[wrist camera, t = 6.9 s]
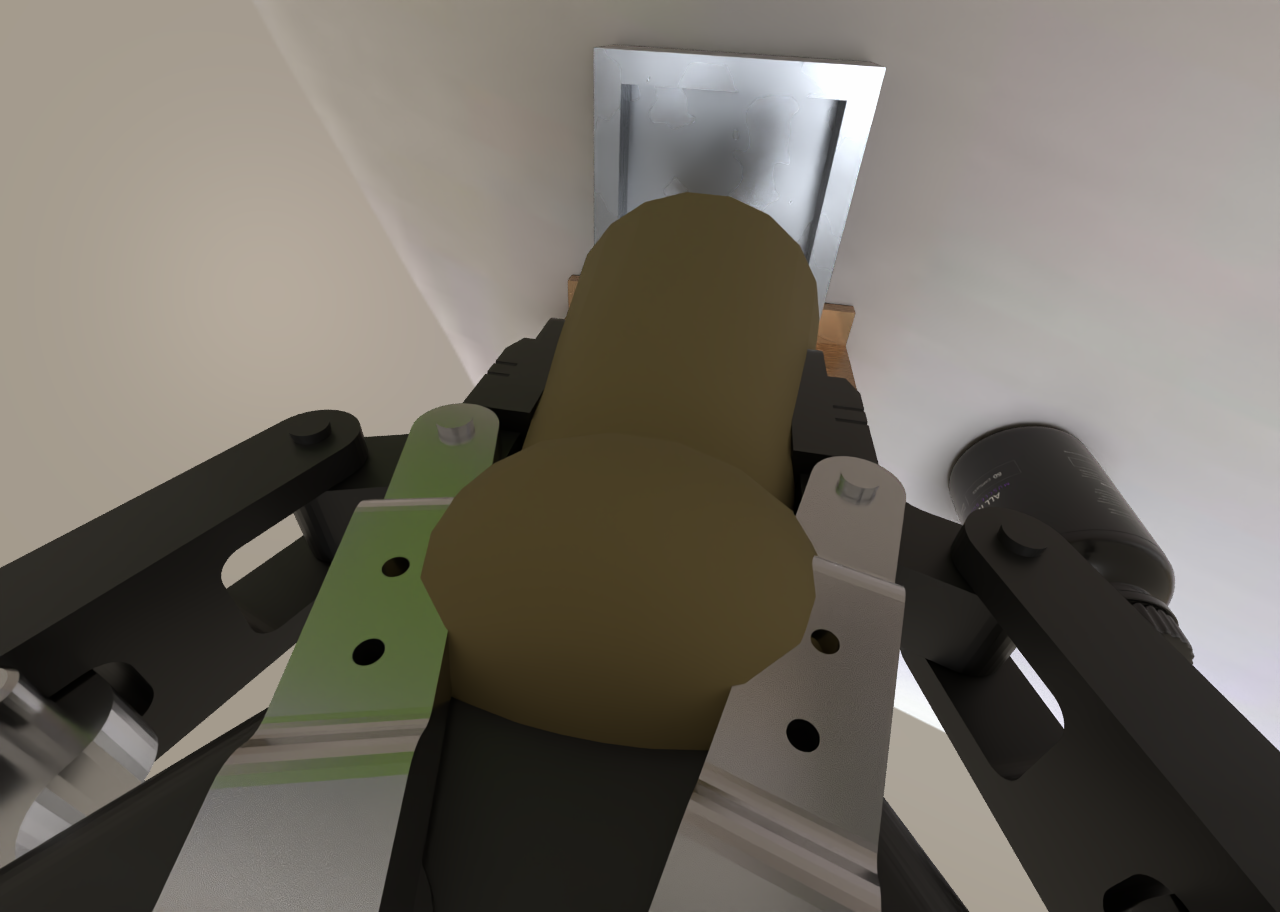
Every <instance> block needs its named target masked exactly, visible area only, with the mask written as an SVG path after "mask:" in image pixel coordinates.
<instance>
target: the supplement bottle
mask: <svg viewBox="0 0 1280 912" xmlns="http://www.w3.org/2000/svg"><path fill="white" fill-rule="evenodd" d="M949 489H950V494H951V498H952V501H953V503H954V506H955V509H956V512H957V514H958V517H959V520H960V522H961V525H963V523H964V522H965V520H966V518H967V517H968V515H969V514H970V513H972V512H973V511H975V510H977V509H980V508H986V507H1000V508H1007V509H1011V510H1015V511H1018V512H1022V513H1024V514H1027V515H1029V516H1032V517H1034V518H1036V519H1038V520H1040V521H1042V522H1043V523H1045V524H1047V525H1048V526H1050V527H1051V528H1053V529H1054V530H1055V531H1057V532H1058V533H1059V534H1060V535H1061V536H1062V537H1064V538H1065V539H1066V540H1067V541H1068V542H1069V543H1070V544H1071V545H1072V546H1073V547H1074V548H1075V549H1076V550H1077V551H1078V552H1079V553H1080V554H1081V555H1082V556H1083V557H1084V558H1085V559H1086V560H1087V561H1088V562H1089V563H1090V564H1091V565H1092V566H1093V567H1094V568H1095V569H1096V570H1097V571H1098V572H1099V573H1100V574H1101V575H1102V576H1103V577H1104V578H1105V579H1106V580H1107V581H1108V582H1109V583H1110V584H1111V585H1112V586H1113V587H1114V588H1115V589H1116V590H1117V591H1118V592H1119V593H1120V594H1121V595H1122V596H1123V597H1124V598H1125V599H1126V600H1127V601H1128V602H1129V603H1130V604H1131V605H1132V606H1133V607H1134V608H1135V609H1136V610H1137V611H1138V612H1139V613H1140V614H1141V615H1142V616H1143V617H1144V618H1145V619H1146V620H1147V621H1148V622H1149V623H1150V624H1151V625H1152V626H1153V627H1154V628H1155V629H1156V630H1157V631H1158V632H1159V633H1160V634H1161V635H1163V636H1164V637H1165V638H1166V639H1167V640H1168V641H1169V642H1170V643H1171V644H1172V645H1173V646H1174V647H1175V648H1176V649H1177V650H1178V651H1179V652H1180V653H1181V654H1182V655H1183V656H1184V657H1185V658H1186V659H1187V660H1188V661H1189V662H1190V663H1191V664H1193V661H1192V659H1193V658H1194V654H1193V652H1192V647H1191V645H1190V643H1189V641H1188V640H1187V638H1186V637H1185V635H1184V634H1183V632H1182V631H1181V629H1180V628H1179V624H1178V621H1177V619H1176V617H1175V615H1174V614H1173V613H1172V611H1171V610H1170V609H1169V607H1168V605H1169V603H1170V601H1171V599H1172V596H1173V593H1174V588H1175V576H1174V571H1173V568H1172V566H1171V564H1170V562H1169V561H1168V559H1167V557H1166V556H1165V554H1164V552H1163V551H1162V550H1161V548H1160V547H1159V545H1158V544H1157V543H1156V541H1155V540H1154V539H1153V537H1152V536H1151V534H1150V533H1149V532H1148V530H1147V529H1146V528H1145V526H1144V525H1143V524H1142V522H1141V521H1140V519H1139V518H1138V517H1137V515H1136V514H1135V513H1134V511H1133V510H1132V508H1131V507H1130V506H1129V504H1128V503H1127V502H1126V500H1125V499H1124V498H1123V496H1122V495H1121V493H1120V492H1119V491H1118V489H1117V488H1116V487H1115V485H1114V484H1113V482H1112V481H1111V480H1110V478H1109V477H1108V476H1107V474H1106V473H1105V471H1104V470H1103V469H1102V467H1101V466H1100V465H1099V463H1098V462H1097V461H1096V459H1095V458H1094V457H1093V455H1092V454H1091V453H1090V452H1089V450H1088V449H1087V448H1086V447H1085V445H1084V444H1083V443H1082V442H1080V441H1079V440H1078V439H1077V438H1075V437H1074V436H1072V435H1070V434H1068V433H1066V432H1064V431H1061V430H1058V429H1054V428H1049V427H1041V426H1025V427H1017V428H1011V429H1007V430H1003V431H1000V432H997V433H995V434H992V435H990V436H988V437H986V438H984V439H982V440H980V441H978V442H977V443H975V444H974V445H973V446H971V447H970V448H969V449H968V450H967V451H966V452H964V454H963V455H962V456H961V457H960V458H959V459H958V461H957V462H956V464H955V466H954V468H953V470H952V472H951V475H950V480H949Z"/></svg>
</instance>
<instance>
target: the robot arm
mask: <svg viewBox="0 0 1280 912" xmlns="http://www.w3.org/2000/svg"><path fill="white" fill-rule="evenodd" d="M564 322H565V319H557V318H551V319H550V320H549V321H548V322H547V324H546V325H545V326H544V328H543V329H542V331H541V332H540V333H539V335H538V336H537V337H536V339H530V338H523V339H521V340H520V341H518V342H516V343H514V344H512V345H510V346H509V347H507V348H506V349H505V350H504V351H503V352H502V354H501V355H500V356H499V357H498V359H497V360H496V364H495V363H494V364H493V365H492V366H491V368H490V369H489V370H488V373H487V374H485V375H484V376H483V378H482V379H481V380H480V381H479V383H478V384H477V385H476V387H475V388H474V389H473V390H472V392H471V393H470V394H469V396H468V397H467V398H466V399H465V400H464V402H463V403H460V404H450V405H445V406H441V407H438V408H435V409H432V410H430V411H428V412H426V413H425V414H423V415H422V416H420V417H419V418H418V419H417V420H416V421H415V422H414V424H413V426H412V428H411V430H410V433H409V434H404V435H390V436H374V437H364V435H363V432H362V429H361V426H360V423H359V421H358V419H357V418H356V417H354V416H353V415H351V414H349V413H346V412H343V411H339V410H318V411H311V412H306V413H303V414H298V415H296V416H293V417H290V418H288V419H286V420H284V421H282V422H280V423H278V424H276V425H274V426H272V427H270V428H268V429H267V430H264V431H263V432H261V433H259V434H257V435H255V436H253V437H251V438H249V439H247V440H245V441H243V442H241V443H239V444H238V445H236V446H234V447H232V448H230V449H228V450H226V451H224V452H222V453H220V454H218V455H217V456H214V457H213V458H211V459H209V460H207V461H205V462H203V463H201V464H199V465H197V466H195V467H194V468H191V469H190V470H188V471H186V472H184V473H182V474H180V475H178V476H176V477H174V478H172V479H171V480H168V481H166V482H165V483H163V484H161V485H159V486H157V487H155V488H153V489H151V490H149V491H147V492H145V493H143V494H142V495H140V496H138V497H136V498H134V499H132V500H130V501H128V502H126V503H124V504H122V505H120V506H118V507H117V508H115V509H113V510H111V511H109V512H107V513H105V514H103V515H101V516H99V517H97V518H95V519H93V520H92V521H90V522H88V523H86V524H84V525H82V526H80V527H78V528H76V529H75V530H72V531H71V532H69V533H67V534H65V535H63V536H61V537H59V538H57V539H55V540H53V541H51V542H49V543H47V544H45V545H44V546H42V547H40V548H38V549H36V550H34V551H32V552H30V553H28V554H26V555H24V556H22V557H21V558H19V559H17V560H15V561H13V562H11V563H9V564H7V565H5V566H3V567H1V568H0V912H969V911H968V909H967V908H966V907H965V905H964V904H963V903H962V901H961V900H960V899H959V897H958V896H957V895H956V893H955V892H954V891H953V889H952V888H951V887H950V885H949V884H948V883H947V881H946V880H945V879H944V877H943V876H942V875H941V873H940V872H939V870H938V869H937V868H936V866H935V865H934V864H933V863H932V861H931V860H930V858H929V857H928V856H927V855H926V853H925V852H924V850H923V849H922V848H921V847H920V845H919V844H918V843H917V841H916V840H915V838H914V837H913V836H912V834H911V833H910V832H909V830H908V829H907V828H906V826H905V825H904V824H903V822H902V821H901V820H900V818H899V817H898V816H897V815H896V813H895V812H894V810H893V809H892V808H891V806H890V805H889V804H888V802H887V801H886V800H885V798H884V797H883V796H884V786H885V778H886V769H887V760H888V751H889V742H890V733H891V723H892V715H893V706H894V697H895V688H896V679H897V670H898V661H899V652H900V650H901V654H902V656H903V658H904V660H905V662H906V664H907V666H908V668H909V669H910V671H911V673H912V674H913V676H914V678H915V680H916V681H917V683H918V685H919V687H920V688H921V690H922V692H923V694H924V695H925V697H926V699H927V701H928V702H929V704H930V706H931V708H932V709H933V711H934V713H935V715H936V716H937V718H938V720H939V722H940V723H941V725H942V727H943V728H944V730H945V732H946V734H947V735H948V737H949V739H950V740H951V742H952V744H953V746H954V748H955V749H956V751H957V753H958V755H959V756H960V758H961V760H962V762H963V763H964V765H965V767H966V769H967V770H968V772H969V773H970V776H971V777H972V779H973V781H974V782H975V784H976V786H977V788H978V789H979V791H980V793H981V795H982V796H983V798H984V800H985V802H986V803H987V805H988V807H989V809H990V810H991V812H992V814H993V816H994V817H995V819H996V821H997V822H998V824H999V826H1000V828H1001V829H1002V831H1003V833H1004V835H1005V836H1006V838H1007V840H1008V841H1009V843H1010V845H1011V847H1012V849H1013V850H1014V852H1015V854H1016V856H1017V857H1018V859H1019V861H1020V862H1021V864H1022V866H1023V868H1024V870H1025V871H1026V873H1027V875H1028V876H1029V878H1030V880H1031V882H1032V883H1033V885H1034V887H1035V889H1036V890H1037V892H1038V894H1039V895H1040V897H1041V899H1042V901H1043V902H1044V904H1045V906H1046V908H1047V909H1048V911H1049V912H1280V751H1279V750H1278V749H1276V748H1275V747H1274V746H1273V745H1272V744H1271V743H1270V742H1269V741H1268V740H1267V739H1266V738H1265V737H1264V736H1263V735H1262V734H1261V733H1260V732H1259V731H1258V730H1257V729H1256V728H1255V727H1254V726H1253V725H1252V724H1251V723H1250V722H1249V721H1248V720H1247V719H1246V718H1245V717H1244V716H1243V715H1242V714H1241V713H1240V712H1239V711H1238V710H1237V709H1236V708H1235V707H1234V706H1233V705H1232V704H1231V703H1230V702H1229V701H1228V700H1227V699H1226V698H1225V697H1224V696H1223V695H1222V694H1221V693H1220V692H1219V691H1218V690H1217V689H1216V688H1215V687H1214V686H1213V685H1212V684H1211V683H1210V682H1209V681H1208V680H1207V679H1206V678H1205V677H1204V676H1203V675H1202V674H1201V673H1200V672H1199V671H1198V670H1197V669H1196V668H1195V667H1194V666H1193V665H1192V664H1191V663H1190V662H1189V661H1188V660H1187V659H1186V658H1185V657H1184V656H1183V655H1182V654H1181V653H1180V652H1179V651H1178V650H1177V649H1176V648H1175V647H1174V646H1173V645H1172V644H1171V643H1170V642H1169V641H1168V640H1167V639H1166V638H1165V637H1164V636H1163V635H1161V634H1160V633H1159V632H1158V631H1157V630H1156V629H1155V628H1154V627H1153V626H1152V625H1151V624H1150V623H1149V622H1148V621H1147V620H1146V619H1145V618H1144V617H1143V616H1142V615H1141V614H1140V613H1139V612H1138V611H1137V610H1136V609H1135V608H1134V607H1133V606H1132V605H1131V604H1130V603H1129V602H1128V601H1127V600H1126V599H1125V598H1124V597H1123V596H1122V595H1121V594H1120V593H1119V592H1118V591H1117V590H1116V589H1115V588H1114V587H1113V586H1112V585H1111V584H1110V583H1109V582H1108V581H1107V580H1106V579H1105V578H1104V577H1103V576H1102V575H1101V574H1100V573H1099V572H1098V571H1097V570H1096V569H1095V568H1094V567H1093V566H1092V565H1091V564H1090V563H1089V562H1088V561H1087V560H1086V559H1085V558H1084V557H1083V556H1082V555H1081V554H1080V553H1079V552H1078V551H1077V550H1076V549H1075V548H1074V547H1073V546H1072V545H1071V544H1070V543H1069V542H1068V541H1067V540H1066V539H1065V538H1064V537H1062V536H1061V535H1060V534H1059V533H1058V532H1057V531H1055V530H1054V529H1053V528H1051V527H1050V526H1048V525H1047V524H1045V523H1043V522H1042V521H1040V520H1038V519H1036V518H1034V517H1032V516H1029V515H1027V514H1024V513H1022V512H1018V511H1015V510H1011V509H1007V508H1000V507H986V508H980V509H977V510H975V511H973V512H972V513H970V514H969V515H968V517H967V518H966V520H965V522H964V523H963V525H960V524H958V523H955V522H952V521H949V520H946V519H944V518H941V517H938V516H935V515H932V514H930V513H927V512H925V511H922V510H920V509H918V508H916V507H914V506H912V505H910V504H909V503H907V502H906V493H905V489H904V487H903V485H902V484H901V482H900V481H899V480H898V479H897V478H896V477H895V476H894V475H893V474H892V473H891V472H889V471H888V470H886V469H885V468H883V467H881V466H880V465H879V464H878V460H877V457H876V453H875V449H874V445H873V441H872V437H871V434H870V430H869V426H868V425H867V418H866V414H865V412H864V407H863V403H862V399H861V395H860V393H859V392H858V391H857V390H856V389H855V388H854V387H853V386H852V385H851V383H850V382H849V381H848V380H847V379H846V378H839V377H831V376H827V371H826V365H825V360H824V354H823V351H820V350H812V349H808V350H807V354H806V359H805V363H804V368H803V372H802V377H801V381H800V386H799V390H798V395H797V399H796V404H795V408H794V413H793V417H792V426H791V460H792V468H793V475H794V483H795V507H794V515H795V516H796V518H797V520H798V521H799V523H800V525H801V526H802V528H803V530H804V531H805V533H806V535H807V536H808V538H809V539H810V541H811V543H812V544H813V547H814V549H815V551H816V553H817V555H818V556H815V555H814V557H813V562H812V566H813V576H814V584H815V593H816V598H815V601H814V604H813V608H812V611H811V614H810V618H809V621H808V624H807V628H806V631H805V634H804V636H803V638H802V640H801V643H800V644H799V645H797V646H796V647H795V648H793V649H792V650H790V651H789V652H788V653H786V654H785V655H784V656H782V657H781V658H779V659H778V660H777V661H775V662H774V663H773V664H771V665H770V666H768V667H767V668H766V669H764V670H763V671H762V672H760V673H759V674H757V675H756V676H755V677H753V678H752V679H751V680H749V681H748V682H746V683H745V684H741V685H735V686H732V688H731V691H730V694H729V697H728V699H727V702H726V705H725V708H724V710H723V713H722V716H721V719H720V721H719V724H718V727H717V730H716V732H715V735H714V738H713V741H712V743H711V746H710V749H709V750H677V749H648V748H638V747H631V746H623V745H616V744H608V743H601V742H596V741H591V740H586V739H581V738H576V737H571V736H566V735H561V734H557V733H553V732H550V731H546V730H542V729H538V728H535V727H531V726H527V725H524V724H520V723H517V722H514V721H511V720H509V719H506V718H504V717H501V716H498V715H496V714H493V713H491V712H488V711H486V710H483V709H481V708H478V707H475V706H473V705H470V704H468V703H465V702H463V701H460V700H458V699H455V698H453V697H451V694H452V684H451V677H450V661H449V640H448V630H447V629H446V628H445V626H444V624H443V622H442V620H441V618H440V616H439V614H438V612H437V610H436V608H435V606H434V604H433V602H432V600H431V598H430V596H429V594H428V592H427V590H426V588H425V586H424V584H423V582H422V580H421V578H420V576H421V572H422V568H423V564H424V560H425V556H426V551H427V547H428V543H429V539H430V535H431V532H432V530H433V529H434V527H435V526H436V525H437V523H438V522H439V520H440V519H441V517H442V516H443V514H444V513H445V511H446V510H447V508H448V507H449V505H450V504H451V502H452V501H453V499H454V497H455V496H456V495H457V494H458V493H459V492H460V490H461V489H462V488H464V487H465V486H466V485H467V484H469V483H470V482H471V481H472V480H474V479H475V478H476V477H477V476H479V475H480V474H481V473H482V472H484V471H485V470H486V469H487V468H489V467H490V466H491V465H492V464H494V463H496V462H498V461H500V460H502V459H505V458H507V457H509V456H511V455H513V454H515V453H517V452H519V451H521V450H522V447H523V444H524V441H525V438H526V435H527V432H528V429H529V426H530V423H531V420H532V417H533V415H534V412H535V410H536V407H537V405H538V403H539V400H540V398H541V396H542V393H543V391H544V388H545V385H546V382H547V378H548V375H549V371H550V368H551V364H552V361H553V357H554V354H555V350H556V347H557V343H558V340H559V337H560V334H561V331H562V328H563V325H564ZM292 513H294V515H295V518H296V520H297V522H298V524H299V526H300V528H301V531H302V533H303V536H302V537H300V538H299V539H298V540H296V541H295V542H293V543H292V544H291V545H289V546H288V547H286V548H285V549H283V550H282V551H280V552H279V553H277V554H276V555H275V556H273V557H272V558H270V559H269V560H267V561H266V562H265V563H263V564H262V565H260V566H259V567H257V568H256V569H255V570H253V571H252V572H250V573H249V574H247V575H246V576H245V577H243V578H242V579H240V580H239V581H237V582H236V583H234V584H233V585H232V586H230V587H229V588H227V589H226V588H225V586H224V585H223V583H222V580H221V572H222V568H223V566H224V564H225V562H226V561H227V559H228V558H229V557H230V556H231V555H232V554H233V553H234V552H235V551H236V550H237V549H239V548H240V547H242V546H243V545H245V544H246V543H248V542H249V541H251V540H252V539H254V538H256V537H257V536H259V535H260V534H262V533H263V532H265V531H266V530H268V529H269V528H271V527H272V526H274V525H275V524H277V523H278V522H280V521H282V520H283V519H284V518H286V517H288V516H289V515H291V514H292ZM811 638H814V639H815V640H816V641H817V642H818V643H819V645H820V647H821V649H822V651H823V653H822V652H820V651H818V650H817V649H816V648H815V647H814V646H813V645H812V643H811ZM295 643H296V646H295V648H294V650H293V653H292V655H291V657H290V659H289V662H288V664H287V666H286V669H285V671H284V673H283V676H282V678H281V680H280V682H279V685H278V687H277V689H276V691H275V694H274V696H273V698H272V701H271V703H270V705H269V707H268V708H266V709H265V710H263V711H261V712H260V713H258V714H256V715H255V716H253V717H251V718H250V719H248V720H246V721H245V722H243V723H241V724H240V725H238V726H236V727H235V728H233V729H231V730H230V731H228V732H226V733H225V734H223V735H221V736H220V737H218V738H216V739H215V740H213V741H211V742H210V743H208V744H206V745H205V746H203V747H201V748H200V749H198V750H196V751H195V752H193V753H192V754H190V755H188V756H186V757H185V758H184V759H181V760H180V761H178V762H177V763H175V764H173V765H171V766H170V767H168V768H167V769H165V770H163V771H162V772H160V773H159V774H157V775H155V776H153V777H152V778H150V779H148V780H147V781H145V780H144V779H145V778H146V776H147V775H148V773H149V771H150V769H151V767H152V765H153V763H154V762H155V761H156V760H157V759H158V758H159V757H160V756H162V755H163V754H164V753H165V752H167V751H168V750H169V749H170V748H171V747H173V746H174V745H175V744H176V743H177V742H179V741H180V740H181V739H182V738H183V737H184V736H186V735H187V734H188V733H189V732H190V731H192V730H193V729H194V728H195V727H196V726H198V725H199V724H200V723H201V722H202V721H204V720H205V719H206V718H207V717H208V716H209V715H211V714H212V713H213V712H214V711H216V710H217V709H218V708H219V707H220V706H221V705H223V704H224V703H225V702H226V701H227V700H228V699H230V698H231V697H232V696H233V695H235V694H236V693H237V692H238V691H239V690H241V689H242V688H243V687H244V686H245V685H246V684H248V683H249V682H250V681H251V680H253V679H254V678H255V677H256V676H257V675H258V674H259V673H261V672H262V671H263V670H264V669H265V668H267V667H268V666H269V665H270V664H272V663H273V662H274V661H275V660H276V659H278V658H279V657H280V656H281V655H282V654H284V653H285V652H286V651H287V650H288V649H289V648H291V647H292V646H293V645H294V644H295ZM1016 647H1017V648H1018V650H1019V651H1020V652H1021V653H1022V655H1023V656H1024V657H1025V659H1026V660H1027V661H1028V663H1029V664H1030V665H1031V667H1032V668H1033V669H1034V671H1035V672H1036V673H1037V674H1038V676H1039V677H1040V678H1041V680H1042V681H1043V682H1044V684H1045V685H1046V686H1047V688H1048V689H1049V690H1050V692H1051V693H1052V694H1053V696H1054V697H1055V699H1056V700H1057V702H1058V704H1059V706H1060V708H1061V711H1062V714H1063V718H1064V729H1063V727H1062V726H1061V724H1060V723H1059V722H1058V720H1057V719H1056V718H1055V716H1054V715H1053V714H1052V712H1051V711H1050V710H1049V708H1048V707H1047V706H1046V704H1045V703H1044V702H1043V700H1042V699H1041V697H1040V696H1039V695H1038V693H1037V692H1036V691H1035V689H1034V688H1033V687H1032V685H1031V684H1030V683H1029V681H1028V680H1027V679H1026V677H1025V676H1024V675H1023V673H1022V672H1021V670H1020V669H1019V668H1018V666H1017V665H1016V664H1015V662H1014V661H1013V660H1012V658H1011V657H1010V655H1011V653H1012V652H1013V651H1014V650H1015V648H1016Z"/></svg>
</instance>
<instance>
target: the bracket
mask: <svg viewBox="0 0 1280 912" xmlns="http://www.w3.org/2000/svg"><path fill="white" fill-rule="evenodd" d="M885 70H886V67H884V66H881V65H878V64H875V63H872V62H866V61H851V60H836V59H821V58H806V57H792V56H777V55H762V54H747V53H732V52H717V51H702V50H687V49H672V48H657V47H642V46H627V45H608V46H601V47H595V48H594V245H595V244H596V243H597V241H598V240H599V239H600V238H601V236H602V235H603V234H604V232H605V231H606V230H607V228H608V227H609V226H610V224H612V223H613V222H615V221H617V220H618V219H620V218H621V217H623V216H624V215H626V214H627V213H629V212H630V211H632V210H633V209H635V208H637V207H638V206H640V205H641V204H643V203H644V202H647V201H651V200H655V199H660V198H664V197H668V196H672V195H676V194H680V193H685V192H692V193H702V194H711V195H721V196H730V197H733V198H735V199H737V200H739V201H741V202H743V203H745V204H747V205H749V206H752V207H754V208H756V209H758V210H760V211H762V212H764V213H766V214H768V215H770V216H771V217H772V218H773V219H774V220H775V221H776V222H777V223H778V224H779V225H780V226H781V227H782V228H783V229H784V230H785V231H786V232H787V233H788V234H789V235H790V236H791V237H792V238H793V239H794V240H795V241H796V242H797V243H798V244H799V245H800V247H801V249H802V251H803V253H804V256H805V258H806V260H807V262H808V264H809V267H810V269H811V271H812V273H813V275H814V277H815V280H816V282H817V294H818V306H819V319H820V321H819V329H818V336H817V344H816V350H820V351H823V354H824V360H825V365H826V371H827V376H831V377H839V378H846V379H847V380H848V381H849V382H850V383H851V385H852V386H853V387H854V388H855V389H856V390H857V388H856V384H855V381H854V377H853V373H852V369H851V365H850V361H849V357H848V353H847V349H846V343H847V339H848V336H849V333H850V329H851V326H852V323H853V319H854V316H855V310H854V307H853V306H845V305H836V304H827V303H825V299H826V295H827V291H828V287H829V284H830V280H831V276H832V272H833V268H834V264H835V261H836V257H837V253H838V249H839V245H840V242H841V238H842V234H843V230H844V226H845V223H846V219H847V215H848V211H849V207H850V203H851V200H852V196H853V192H854V188H855V184H856V181H857V177H858V173H859V169H860V165H861V161H862V158H863V154H864V150H865V146H866V142H867V139H868V135H869V131H870V127H871V123H872V120H873V116H874V112H875V108H876V104H877V100H878V97H879V93H880V89H881V85H882V81H883V78H884V74H885ZM579 277H580V276H577V275H572V276H571V277H570V278H569V280H568V301H569V307H570V304H571V301H572V298H573V295H574V292H575V289H576V286H577V283H578V280H579ZM565 319H566V318H565Z"/></svg>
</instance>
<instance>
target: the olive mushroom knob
mask: <svg viewBox="0 0 1280 912" xmlns="http://www.w3.org/2000/svg"><path fill="white" fill-rule="evenodd" d="M819 321H820V319H819V306H818V294H817V282H816V280H815V277H814V275H813V273H812V271H811V269H810V267H809V264H808V262H807V260H806V258H805V256H804V253H803V251H802V249H801V247H800V245H799V244H798V243H797V242H796V241H795V240H794V239H793V238H792V237H791V236H790V235H789V234H788V233H787V232H786V231H785V230H784V229H783V228H782V227H781V226H780V225H779V224H778V223H777V222H776V221H775V220H774V219H773V218H772V217H771V216H770V215H768V214H766V213H764V212H762V211H760V210H758V209H756V208H754V207H752V206H749V205H747V204H745V203H743V202H741V201H739V200H737V199H735V198H733V197H730V196H721V195H711V194H702V193H692V192H685V193H680V194H676V195H672V196H668V197H664V198H660V199H655V200H651V201H647V202H644V203H643V204H641V205H640V206H638V207H637V208H635V209H633V210H632V211H630V212H629V213H627V214H626V215H624V216H623V217H621V218H620V219H618V220H617V221H615V222H613V223H612V224H610V226H609V227H608V228H607V230H606V231H605V232H604V234H603V235H602V236H601V238H600V239H599V240H598V241H597V243H596V244H595V245H594V247H593V248H592V249H591V251H590V252H589V253H588V255H587V257H586V260H585V263H584V265H583V268H582V271H581V274H580V277H579V280H578V283H577V286H576V289H575V292H574V295H573V298H572V301H571V304H570V307H569V310H568V313H567V316H566V319H565V322H564V325H563V328H562V331H561V334H560V337H559V340H558V343H557V347H556V350H555V354H554V357H553V361H552V364H551V368H550V371H549V375H548V378H547V382H546V385H545V388H544V391H543V393H542V396H541V398H540V400H539V403H538V405H537V407H536V410H535V412H534V415H533V417H532V420H531V423H530V426H529V429H528V432H527V435H526V438H525V441H524V444H523V447H522V450H521V451H519V452H517V453H515V454H513V455H511V456H509V457H507V458H505V459H502V460H500V461H498V462H496V463H494V464H492V465H491V466H490V467H489V468H487V469H486V470H485V471H484V472H482V473H481V474H480V475H479V476H477V477H476V478H475V479H474V480H472V481H471V482H470V483H469V484H467V485H466V486H465V487H464V488H462V489H461V490H460V492H459V493H458V494H457V495H456V496H455V497H454V499H453V501H452V502H451V504H450V505H449V507H448V508H447V510H446V511H445V513H444V514H443V516H442V517H441V519H440V520H439V522H438V523H437V525H436V526H435V527H434V529H433V530H432V532H431V535H430V539H429V543H428V547H427V551H426V556H425V560H424V564H423V568H422V572H421V576H420V578H421V580H422V582H423V584H424V586H425V588H426V590H427V592H428V594H429V596H430V598H431V600H432V602H433V604H434V606H435V608H436V610H437V612H438V614H439V616H440V618H441V620H442V622H443V624H444V626H445V628H446V629H447V630H448V640H449V661H450V677H451V684H452V694H451V697H453V698H455V699H458V700H460V701H463V702H465V703H468V704H470V705H473V706H475V707H478V708H481V709H483V710H486V711H488V712H491V713H493V714H496V715H498V716H501V717H504V718H506V719H509V720H511V721H514V722H517V723H520V724H524V725H527V726H531V727H535V728H538V729H542V730H546V731H550V732H553V733H557V734H561V735H566V736H571V737H576V738H581V739H586V740H591V741H596V742H601V743H608V744H616V745H623V746H631V747H638V748H648V749H677V750H709V749H710V746H711V743H712V741H713V738H714V735H715V732H716V730H717V727H718V724H719V721H720V719H721V716H722V713H723V710H724V708H725V705H726V702H727V699H728V697H729V694H730V691H731V688H732V686H735V685H741V684H745V683H746V682H748V681H749V680H751V679H752V678H753V677H755V676H756V675H757V674H759V673H760V672H762V671H763V670H764V669H766V668H767V667H768V666H770V665H771V664H773V663H774V662H775V661H777V660H778V659H779V658H781V657H782V656H784V655H785V654H786V653H788V652H789V651H790V650H792V649H793V648H795V647H796V646H797V645H799V644H800V643H801V640H802V638H803V636H804V634H805V631H806V628H807V624H808V621H809V618H810V614H811V611H812V608H813V604H814V601H815V598H816V593H815V584H814V576H813V566H812V562H813V557H814V555H815V556H818V555H817V553H816V551H815V549H814V547H813V544H812V543H811V541H810V539H809V538H808V536H807V535H806V533H805V531H804V530H803V528H802V526H801V525H800V523H799V521H798V520H797V518H796V516H795V515H794V507H795V483H794V475H793V468H792V460H791V426H792V417H793V413H794V408H795V404H796V399H797V395H798V390H799V386H800V381H801V377H802V372H803V368H804V363H805V359H806V354H807V350H808V349H812V350H816V344H817V336H818V329H819ZM811 643H812V645H813V646H814V647H815V648H816V649H817V650H818V651H820V652H822V653H823V651H822V649H821V647H820V645H819V643H818V642H817V641H816V640H815V639H814V638H811Z"/></svg>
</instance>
